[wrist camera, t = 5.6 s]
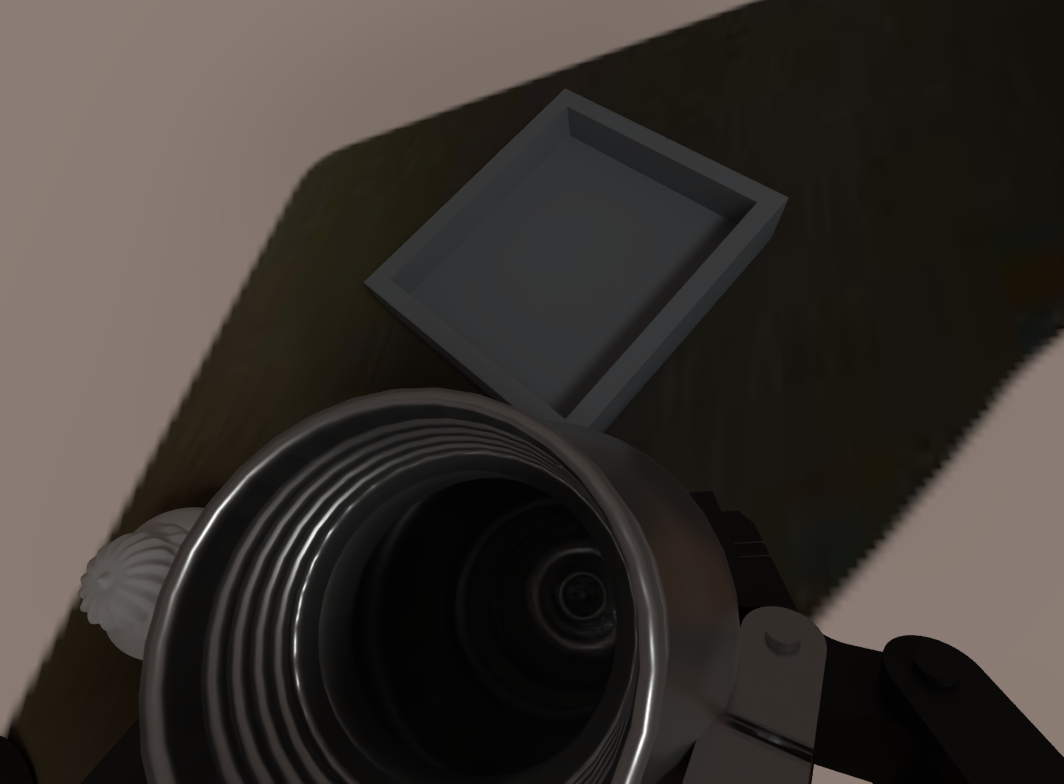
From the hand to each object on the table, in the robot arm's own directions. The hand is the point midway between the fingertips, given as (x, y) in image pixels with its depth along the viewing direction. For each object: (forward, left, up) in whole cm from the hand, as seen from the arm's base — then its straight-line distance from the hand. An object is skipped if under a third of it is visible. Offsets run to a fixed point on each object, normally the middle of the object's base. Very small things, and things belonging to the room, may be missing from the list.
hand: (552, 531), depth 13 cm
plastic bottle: (-1, -1, -11) cm, 11 cm away
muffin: (-12, +12, -11) cm, 20 cm away
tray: (+11, +10, -10) cm, 18 cm away
